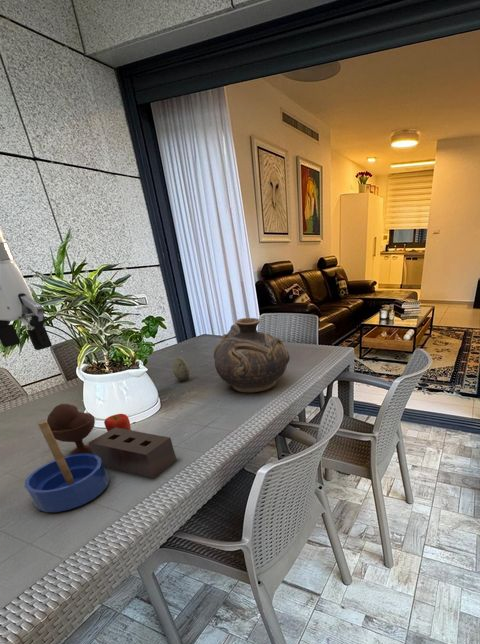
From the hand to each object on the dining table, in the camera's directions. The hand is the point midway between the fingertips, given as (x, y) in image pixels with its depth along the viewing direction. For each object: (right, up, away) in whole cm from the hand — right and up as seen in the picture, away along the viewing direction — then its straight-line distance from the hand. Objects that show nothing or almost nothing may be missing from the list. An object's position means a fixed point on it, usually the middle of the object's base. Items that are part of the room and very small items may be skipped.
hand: (27, 346), depth 73 cm
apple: (+3, -20, +30) cm, 36 cm away
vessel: (+36, 0, +64) cm, 73 cm away
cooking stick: (+4, -31, +8) cm, 33 cm away
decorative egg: (+5, +2, +70) cm, 71 cm away
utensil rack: (+13, -26, +19) cm, 35 cm away
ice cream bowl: (-5, -24, +24) cm, 34 cm away
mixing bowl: (+4, -32, +9) cm, 33 cm away
